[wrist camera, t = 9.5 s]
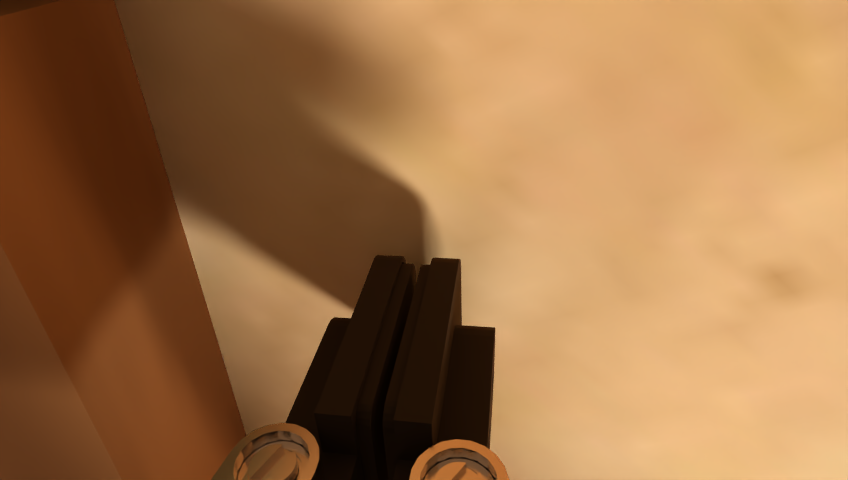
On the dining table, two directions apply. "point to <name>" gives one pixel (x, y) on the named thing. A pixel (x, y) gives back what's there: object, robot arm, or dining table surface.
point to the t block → (96, 268)
